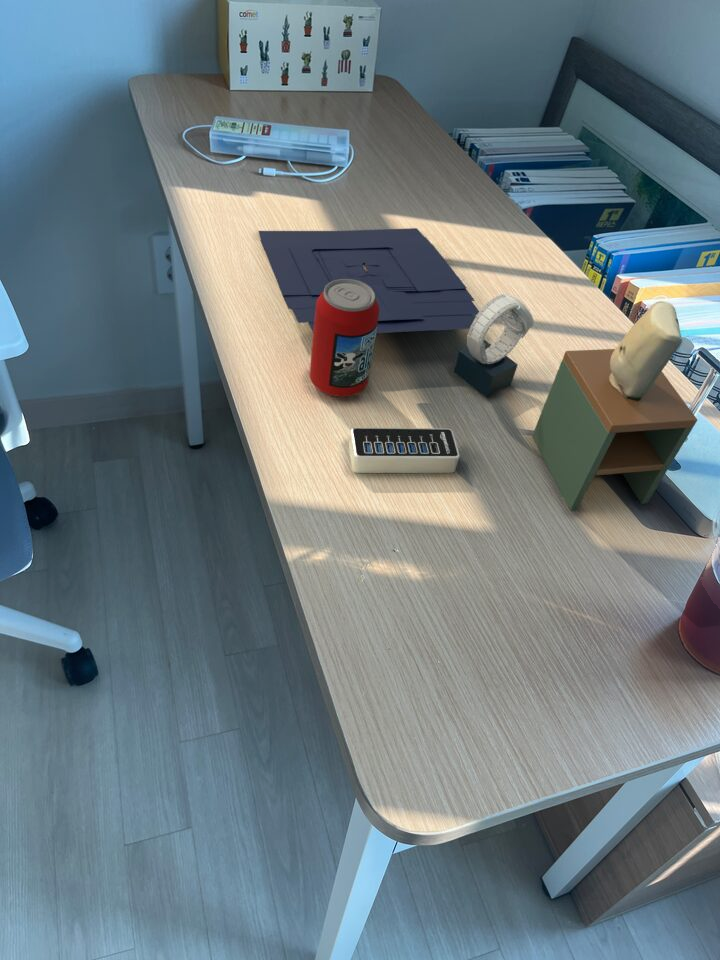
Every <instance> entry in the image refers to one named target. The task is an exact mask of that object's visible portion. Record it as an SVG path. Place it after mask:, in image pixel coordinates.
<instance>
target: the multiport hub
mask: <svg viewBox="0 0 720 960" xmlns="http://www.w3.org/2000/svg"><path fill="white" fill-rule="evenodd" d="M348 451H349V457H350V465H351V470H352V472H353V473H355V474H453V473H455V472H456V469H457V466H458V463H459V459H460V451H459V449H458V444H457V441H456V438H455V434H454V431H453V430H452V429H451V428H435V427H434V428H432V427H431V428H427V427H426V428H421V427H420V428H418V427H353V428H351V429H350V434H349V441H348Z"/></svg>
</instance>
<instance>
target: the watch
mask: <svg viewBox="0 0 720 960" xmlns="http://www.w3.org/2000/svg"><path fill="white" fill-rule="evenodd" d="M474 318H475V319H474V321H473V323H472V325H471V327H470V329H469V331H468V334H467V335H466V346H467V347H465V348H463V349H460V350H459V351H458V354H457V359H456V362H455V366H454V369H453V373H454V374H455V375H457V376H458V377H460V378H461V379H462V380H464V381H465V382H466V383H467V384H468V385H470V386H471V387H472V388H474V389H475V390H476V391H477V392H478V393H480V394H481V395H482V396H484V397H485V398H489V397H490V396H492V395H494V394H496V393H498V392H500V391H502V390H504V389H506V388H508V387H510V386H511V385H512V382H513V380H514V377H515V375H516V371H517V369H518V366H519V364H518V363H517V362H516V361H514V360H512V359H511V358H510V357H508V355H509V354H510V353H511V352H512V351H513V350H514V348H515V347H516V346H517V345H518V343H519V341H520V340H521V339H523V338H524V337H525V336H526V334H527V333H528V332H529V330H530V329H531V328H533V326H534V324H535V320H534V317H533V315H532V313H531V311H530V309H528V308H527V306H526V304H524V303H523V302H522V301H521V300H520V299H519V298H518V297H516V296H515V295H512V294H510V293H499V294H498V295H497V296H495V297H493V298H491V299H490V300H489V301H488V302H487V303H486V304H484V305H483V307H482V308H481V309H480V310H479V313H478V314H476V316H475V317H474ZM499 318H500V319H501V320H502V321H501V322H502V325H503V326H504V328H503V331H502V332H501V333H500V334H499V337H497V339H496V340H495V341H494V342H493V343H492V344H491V343H490V342H489V341H487V340H486V339H485V338H486V336H487V335H486V334H487V333H488V331H489V330H490V328H491V327H492V326H493V325H494V324H495V322H496V321H497V320H499Z"/></svg>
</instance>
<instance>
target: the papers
mask: <svg viewBox="0 0 720 960" xmlns="http://www.w3.org/2000/svg"><path fill="white" fill-rule="evenodd" d="M258 235H259V239H260V240H259V241H260V244H261V245H262V246H261V247H262V248H263V252H265V255H266V259H267V261H268V263H269V265H270V268H271V270H272V273H273V275H274V278H275V280H276V283H277V286H278V288H279V291H280V293H281V295H282V298H283V300H284V302H285V304H286V307H287V309H288V310H292V312H293V314H294V317H295V319H296V321H297V323H298V324H302V323H308V326H309V328H310V330H311V333H313V330H314V320H315V310H316V302H317V299H318V297H319V296H320V295H321V294H322V292H323V291H324V289H325V287H326V285H327V284H328V283H330V282H332V281H334V280H339V279H352V280H357V281H360V282H363V283H365V284H367V285H368V286H369V287H371V288H372V290H373V291H374V293H375V299H376V301H377V303H378V306H379V318H378V324H377V331H376V334H384V333H385V334H387V333H403V332H427V331H428V332H429V331H447V330H470V327H471V325H472V323H473V321H474V319H475V318H476V317H474V315H477V314H478V313H479V312H480V310H479V309H478V308H477V306H476V304H475V303H474V302H475V301H476V300H475V299H474V298H473V296H472V295H471V294H470V292H469V291H468V288H467V286H466V285H465V284H464V282H463V281H462V280H461V279H460V277H459V276H458V275H457V273H456V272H455V271H454V270H453V268H452V267H451V266H450V265H449V263H448V262H447V261H446V260H445V258H444V256H442V254H441V253H440V252H439V251H438V249H437V247H435V245H434V244H433V243H431V241H430V240H429V239H428V238H427V237H426V236H424V235H423V233H422V232H421V231H420V230H419V229H418V228H416V227H415V228H414V227H412V228H387V229H385V228H384V229H358V230H357V229H356V230H355V229H354V230H353V229H352V230H258Z"/></svg>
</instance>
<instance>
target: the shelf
mask: <svg viewBox="0 0 720 960" xmlns="http://www.w3.org/2000/svg"><path fill="white" fill-rule="evenodd" d="M615 349H616V348H604V349H603V348H601V349H580V350H578V349H577V350H565V352H564V354H563V357H562V359H561V362H560V364H559V367H558V369H557V372H556V374H555V378H554V380H553V382H552V384H551V387H550V390H549V393H548V395H547V397H546V400H545V403H544V405H543V407H542V409H541V413H540V414H539V417H538V420H537V423H536V425H535V426H534V427H535V428H534V430H533V433H532V435H531V437H532V439H533V441H534V443H535V445H536V447H537V449H538V451H539V453H540V455H541V457H542V459H543V460H544V463H545V464H546V467H547V468H548V470H549V472H550V474H551V476H552V478H553V480H554V481H555V484H556V486H557V488H558V489H559V491H560V493H561V495H562V497H563V499H564V501H565V503H566V506H567V507H568V508H569V511H578V509H579V507H580V505H581V503H582V501H583V500H584V497H585V495H586V493H587V491H588V489H589V488H590V485H591V483H592V481H593V479H594V477H595V476H604V475H616V474H617V475H618V474H622V475H623V476H624V478H625V480H626V482H627V483H628V485H629V487H630V489H631V490H632V491H633V493H634V495H635V496H636V498H637V500H638V501H639V504H641V505H643V504H648V503H649V501H650V500H651V498H652V496H653V494H654V493H655V492H656V490H657V488H658V486H659V485H660V483H661V481H662V480H663V478H664V477H665V475H666V473H667V472H668V470H669V468H670V466H671V465H672V463H673V462H674V460H675V458H676V457H677V455H678V454H679V452H680V450H681V449H682V447H683V445H684V443H685V442H686V440H687V438H688V437H689V436H690V434H691V432H692V430H693V429H694V427H695V425H696V424H697V422H698V418H697V417H696V416H695V414H694V413H693V412H692V410H691V409H690V407H689V406H688V405H687V404H686V402H685V401H684V399H683V397H682V396H681V395H680V394H679V392H678V391H677V390H676V388H675V387H674V386H673V385H672V383H671V381H670V380H669V379H668V377H667V376H666V375H665V374H664V372H663V370H662V371H661V373H660V374H659V376H658V377H657V379H656V380H655V382H654V383H653V385H652V386H651V387H650V389H649V390H648V391H647V392H646V394H645V395H644V396H643V397H642V398H641V400H639V401H635V400H631V399H627V398H625V397H624V396H623V395H622V394H621V393H620V391H619V390H618V389H616V388H615V387H614V386H612V384H611V382H610V381H609V376H610V374H611V373H612V371H611V368H610V360H611V356H612V353H613V351H614V350H615Z"/></svg>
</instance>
